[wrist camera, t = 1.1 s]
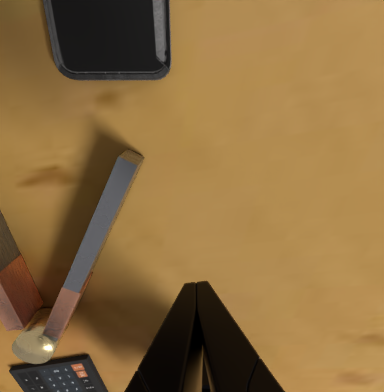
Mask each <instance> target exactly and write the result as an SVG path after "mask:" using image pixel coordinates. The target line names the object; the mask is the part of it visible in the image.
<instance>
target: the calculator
mask: <svg viewBox="0 0 384 392" xmlns="http://www.w3.org/2000/svg"><path fill="white" fill-rule="evenodd" d="M9 372H10V373H11V375H12V376H13V377H14V379H15V380H16V381H17V383H18V384H19V386H20V387H21V388H22V390H23V391H24V392H108V391H107V389H106V387H105V385H104V383H103V381H102V379H101V377H100V375H99V373H98V371H97V369H96V367H95V365H94V364H93V362H92V360H91V358H90V356H89V354H88V355H81V356H75V357H68V358H62V359H56V360H49V361H47V362H45V363H40V364H32V363H30V364H24V365H17V366H12V367H11V369H10V370H9Z"/></svg>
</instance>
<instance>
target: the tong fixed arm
mask: <svg viewBox="0 0 384 392" xmlns="http://www.w3.org/2000/svg"><path fill="white" fill-rule="evenodd" d="M42 304H43V301H42V299H41V297H40V295H39V292H38V290H37V288H36V286H35V284H34V282H33V279H32V277H31V275H30V273H29V271H28V268H27V266H26V264H25V262H24V260H23V258H22V255H21V254H20V252H19V250H18V248H17V246H16V244H15V241H14V239H13V237H12V235H11V233H10V230H9V228H8V226H7V224H6V222H5V220H4V217H3V215H2V213H1V211H0V319H1V321H2V323H3V325H4V326H5V328H6V330H7V331H11V330H21V329H25V327H26V326H27V325H28V323H29V322H30V321H31V319H32V318H33V316H34V315H35V314H36V312H37V311H38V310H39V308H40V307H41V306H42Z"/></svg>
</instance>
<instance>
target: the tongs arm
mask: <svg viewBox="0 0 384 392" xmlns="http://www.w3.org/2000/svg"><path fill="white" fill-rule="evenodd" d="M144 158H145V157H143V156H141V155H139V154H137V153H135V152H133V151H131V150H129V149H128V150H126V151H125V152H123V153H122V154H121V155H119V156H118V158H117V160H116V163H115V165H114V168H113V170H112V172H111V175H110V177H109V179H108V182H107V184H106V186H105V189H104V191H103V193H102V196H101V198H100V200H99V203H98V205H97V208H96V210H95V212H94V215H93V217H92V219H91V222H90V224H89V226H88V229H87V231H86V233H85V236H84V238H83V241H82V243H81V245H80V248H79V250H78V252H77V255H76V257H75V259H74V262H73V264H72V266H71V269H70V271H69V273H68V276H67V278H66V281H65V283H64V285H63V286H62V288H61V291H60V293H59V295H58V298H57V300H56V303H55V305H54V307H53V308H43V309H40V310H38V311H37V312H36V314H35V315H34V316H33V318H32V319H31V321H30V322H29V323H28V325H27V326H26V327H25V329H23V330H22V332H21V333H20V334H19V336H18V337H17V339H16V340H15V341H14V343H13V345H12V350H13V353H14V354H15V355H16V356H17V357H18V358H19V359H21V360H23V361H25V362H28V363H32V364H40V363H45V362H47V361H48V360H50V359H51V357H52V355H53V353H54V352H55V350H56V348H57V346H58V344H59V342H60V340H61V339H62V337H63V335H64V333H65V331H66V329H67V328H68V325H69V321H70V319H71V317H72V316H73V314H74V312H75V309H76V307H77V305H78V303H79V301H80V299H81V297H82V295H83V292H84V290H85V288H86V286H87V284H88V282H89V280H90V277H91V275H92V273H93V272H92V269H93V267H94V265H95V263H96V261H97V259H98V257H99V254H100V252H101V250H102V248H103V246H104V244H105V241H106V239H107V237H108V235H109V233H110V231H111V229H112V226H113V224H114V222H115V220H116V218H117V216H118V214H119V211H120V209H121V207H122V205H123V203H124V201H125V199H126V196H127V194H128V192H129V190H130V188H131V186H132V183H133V181H134V179H135V177H136V175H137V173H138V171H139V168H140V166H141V164H142V162H143V160H144Z"/></svg>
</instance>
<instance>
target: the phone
mask: <svg viewBox="0 0 384 392" xmlns="http://www.w3.org/2000/svg"><path fill="white" fill-rule="evenodd" d="M43 4H44V9H45V14H46V20H47V25H48V30H49V35H50V41H51V46H52V51H53V56H54V61H55V64H56V67H57V68H58V70H59V71H60V72H61V73H62V74H63V75H64V76H66V77H68V78H70V79H74V80H160V79H162V78H164V77H165V76H166V75H167V74H168V73H169V71H170V68H171V32H170V0H43Z"/></svg>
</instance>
